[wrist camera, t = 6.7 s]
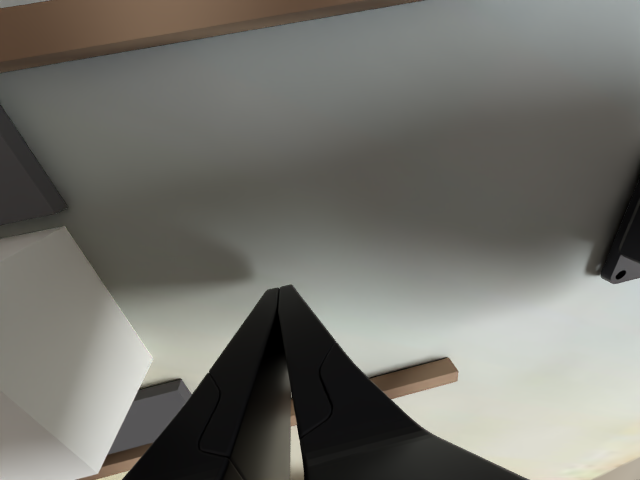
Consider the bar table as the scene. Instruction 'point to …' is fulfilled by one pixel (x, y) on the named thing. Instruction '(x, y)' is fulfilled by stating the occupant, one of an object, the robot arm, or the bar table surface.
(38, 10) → the wood-trimmed serving tray
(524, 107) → the bar table surface
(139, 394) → the dark grey rectangular slab
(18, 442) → the block
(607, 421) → the bar table surface
